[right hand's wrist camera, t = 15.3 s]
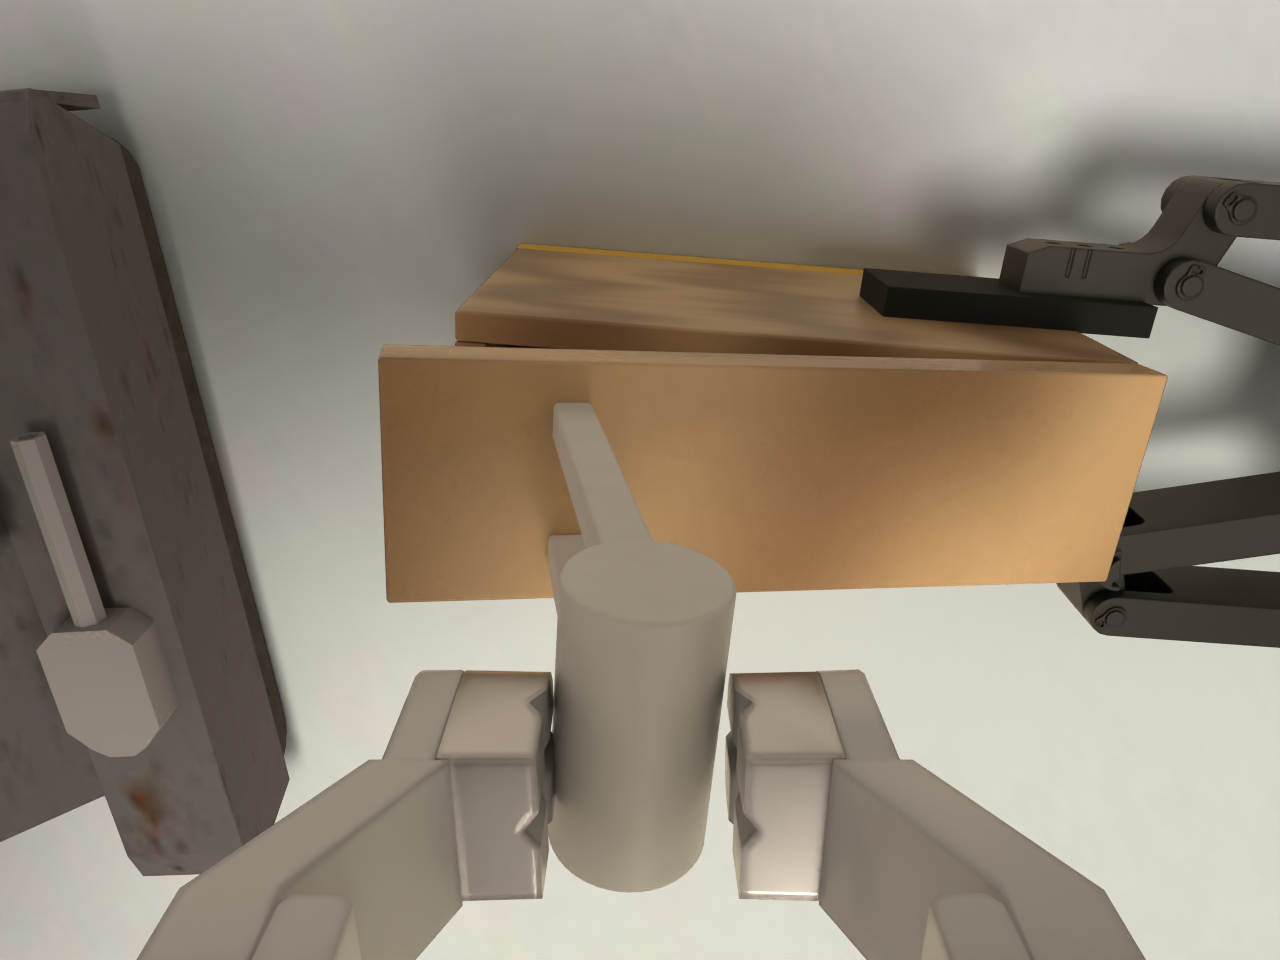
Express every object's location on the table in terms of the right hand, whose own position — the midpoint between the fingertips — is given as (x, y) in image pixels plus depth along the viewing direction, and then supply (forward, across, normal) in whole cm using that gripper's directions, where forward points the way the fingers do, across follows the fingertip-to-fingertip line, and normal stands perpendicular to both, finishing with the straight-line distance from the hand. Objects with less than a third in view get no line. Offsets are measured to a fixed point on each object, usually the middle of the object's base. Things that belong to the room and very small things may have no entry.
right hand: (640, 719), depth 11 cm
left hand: (+14, -6, 0) cm, 15 cm away
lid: (+8, -3, 0) cm, 9 cm away
